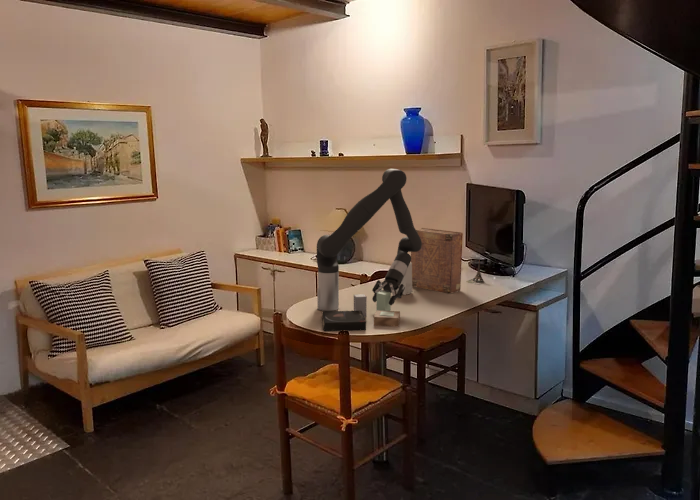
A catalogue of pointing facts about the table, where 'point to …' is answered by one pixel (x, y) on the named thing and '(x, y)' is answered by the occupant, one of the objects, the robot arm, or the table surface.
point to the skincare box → (407, 281)
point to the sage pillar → (383, 301)
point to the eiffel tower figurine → (477, 277)
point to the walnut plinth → (387, 318)
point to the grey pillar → (360, 303)
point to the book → (438, 261)
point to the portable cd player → (343, 320)
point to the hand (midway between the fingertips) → (381, 302)
